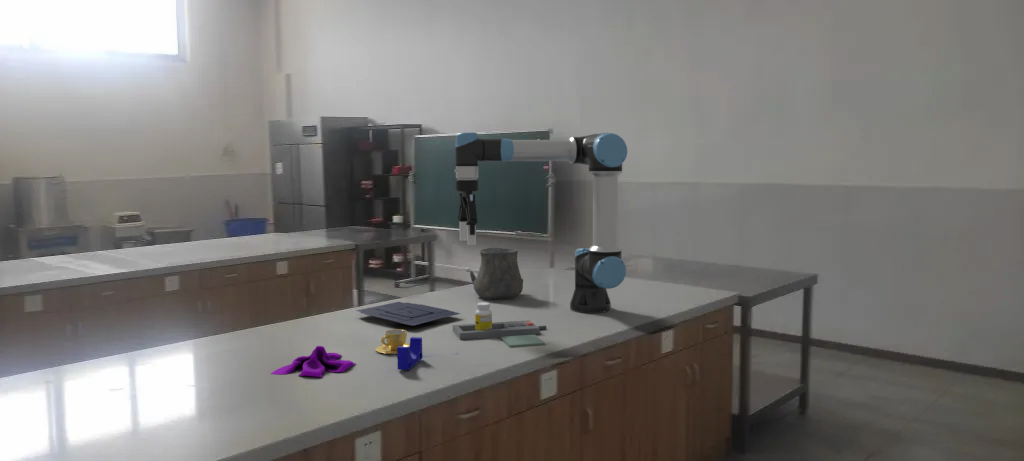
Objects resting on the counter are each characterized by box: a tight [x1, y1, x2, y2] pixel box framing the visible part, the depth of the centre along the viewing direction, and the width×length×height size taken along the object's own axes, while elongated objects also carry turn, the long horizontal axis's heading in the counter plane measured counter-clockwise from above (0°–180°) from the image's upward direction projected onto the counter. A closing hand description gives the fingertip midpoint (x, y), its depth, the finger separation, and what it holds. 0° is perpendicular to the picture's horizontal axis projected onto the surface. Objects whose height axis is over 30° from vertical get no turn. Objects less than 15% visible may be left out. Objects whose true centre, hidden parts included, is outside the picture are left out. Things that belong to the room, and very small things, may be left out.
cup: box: [375, 328, 410, 354], centre depth 220 cm, size 12×12×5 cm
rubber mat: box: [500, 334, 546, 348], centre depth 228 cm, size 11×11×1 cm
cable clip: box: [396, 336, 423, 371], centre depth 204 cm, size 12×4×6 cm, turn 169°
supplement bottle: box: [474, 302, 493, 331], centre depth 238 cm, size 5×5×10 cm
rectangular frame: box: [452, 319, 547, 340], centre depth 240 cm, size 30×12×3 cm, turn 105°
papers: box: [355, 301, 461, 327], centre depth 260 cm, size 24×30×4 cm
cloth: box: [270, 345, 356, 378], centre depth 202 cm, size 22×19×6 cm
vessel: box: [469, 247, 524, 301], centre depth 298 cm, size 22×22×20 cm
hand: (467, 242), depth 249 cm, fingers open, 13 cm apart
